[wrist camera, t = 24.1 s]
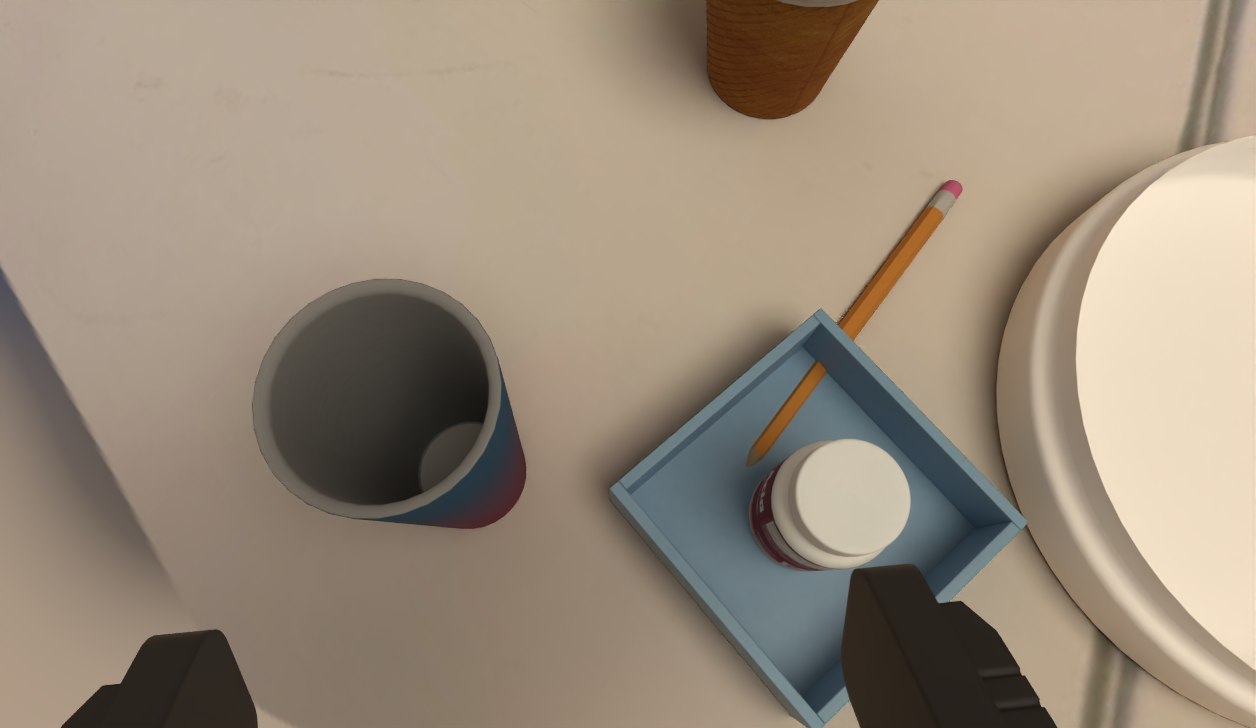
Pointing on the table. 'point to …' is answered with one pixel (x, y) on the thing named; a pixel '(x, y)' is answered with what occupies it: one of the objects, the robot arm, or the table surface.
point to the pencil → (861, 311)
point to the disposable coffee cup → (778, 50)
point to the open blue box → (723, 486)
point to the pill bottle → (830, 506)
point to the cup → (390, 409)
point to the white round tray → (1148, 419)
